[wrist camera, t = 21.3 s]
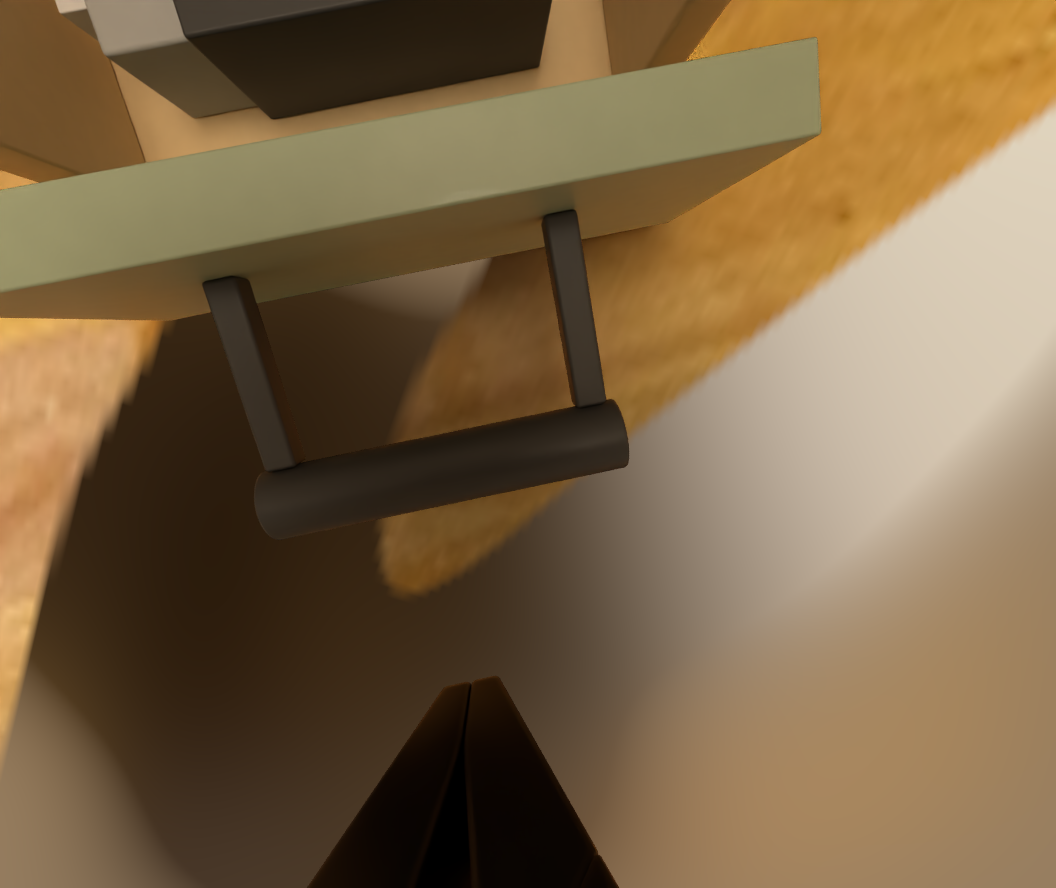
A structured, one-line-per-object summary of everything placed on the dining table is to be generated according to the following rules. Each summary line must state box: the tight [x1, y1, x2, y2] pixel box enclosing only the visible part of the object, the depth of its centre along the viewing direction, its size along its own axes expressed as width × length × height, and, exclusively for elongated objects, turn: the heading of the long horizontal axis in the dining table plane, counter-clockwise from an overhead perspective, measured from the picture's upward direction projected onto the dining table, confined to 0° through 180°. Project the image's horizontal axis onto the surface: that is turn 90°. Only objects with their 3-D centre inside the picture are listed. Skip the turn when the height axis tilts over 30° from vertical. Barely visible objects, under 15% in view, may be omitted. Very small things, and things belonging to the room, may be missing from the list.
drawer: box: [0, 0, 821, 540], centre depth 9 cm, size 18×13×6 cm
